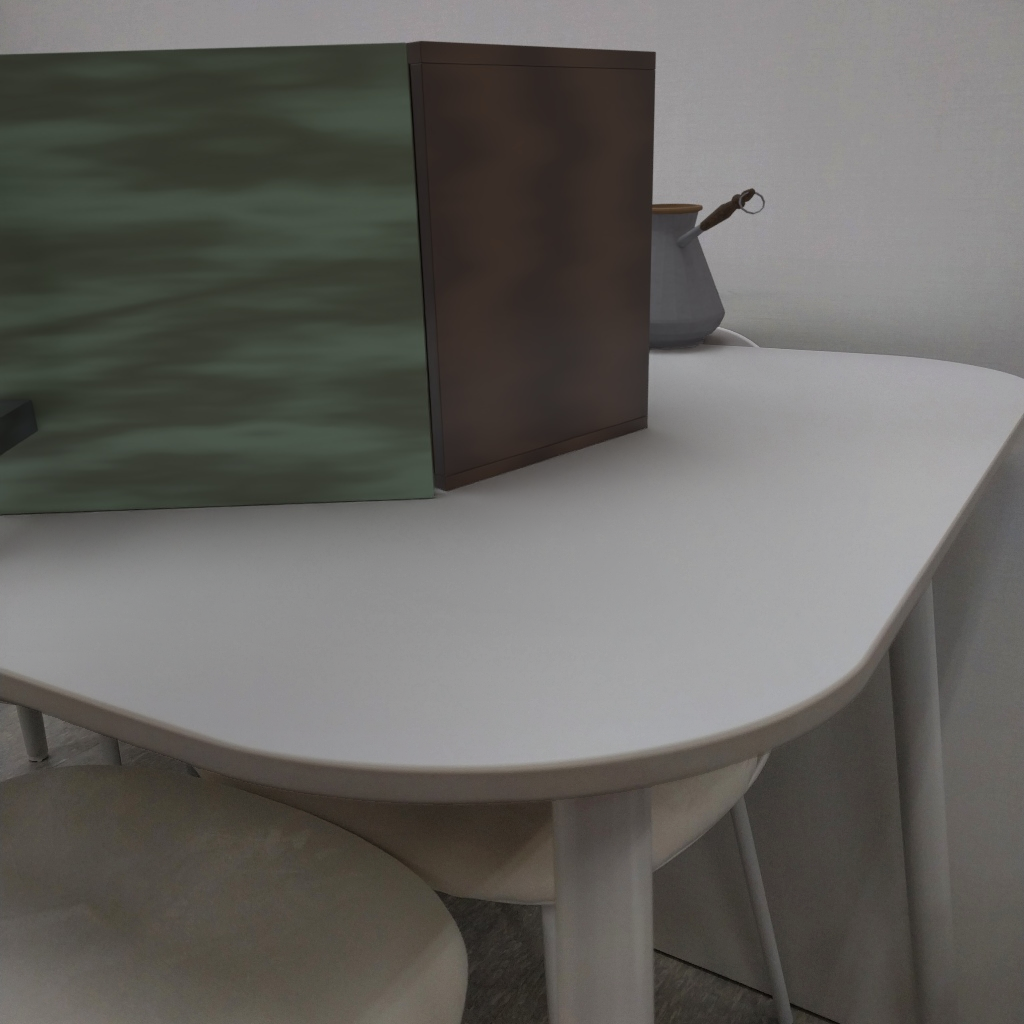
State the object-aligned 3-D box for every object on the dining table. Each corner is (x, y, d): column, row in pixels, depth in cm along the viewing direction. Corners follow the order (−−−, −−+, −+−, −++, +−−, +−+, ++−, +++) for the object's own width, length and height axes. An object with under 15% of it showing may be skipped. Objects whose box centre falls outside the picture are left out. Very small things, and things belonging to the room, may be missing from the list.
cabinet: (446, 493, 57) (420, 40, 48) (238, 413, 75) (192, 74, 66) (647, 429, 68) (656, 51, 59) (424, 373, 86) (405, 78, 77)
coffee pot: (589, 335, 100) (589, 182, 94) (690, 326, 103) (695, 177, 97) (683, 381, 81) (690, 191, 75) (803, 368, 84) (818, 185, 78)
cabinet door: (428, 545, 49) (394, 27, 41) (-88, 565, 49) (-233, 45, 40) (435, 491, 57) (407, 44, 48) (-12, 508, 56) (-120, 60, 48)
